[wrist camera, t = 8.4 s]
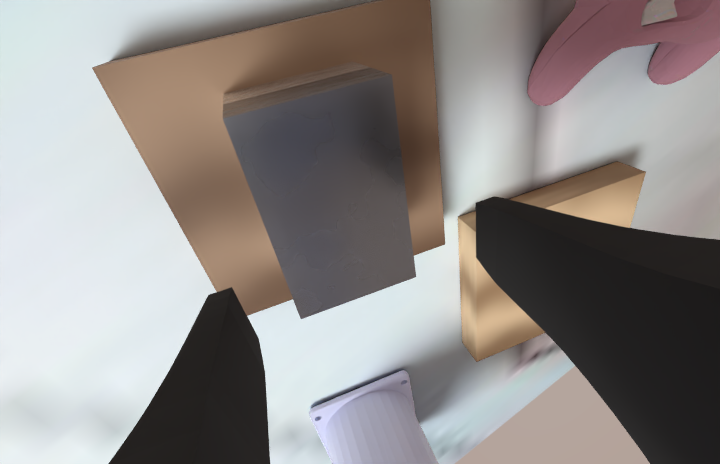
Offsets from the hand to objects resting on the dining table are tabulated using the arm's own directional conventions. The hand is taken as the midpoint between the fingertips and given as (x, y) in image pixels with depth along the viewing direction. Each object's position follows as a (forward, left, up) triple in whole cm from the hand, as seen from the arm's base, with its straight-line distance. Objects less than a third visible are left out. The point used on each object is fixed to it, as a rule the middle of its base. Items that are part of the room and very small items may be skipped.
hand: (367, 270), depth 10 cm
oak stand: (-12, -14, -9) cm, 20 cm away
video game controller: (+2, -17, -9) cm, 19 cm away
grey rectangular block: (0, 0, -7) cm, 7 cm away
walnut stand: (0, 0, -9) cm, 9 cm away
